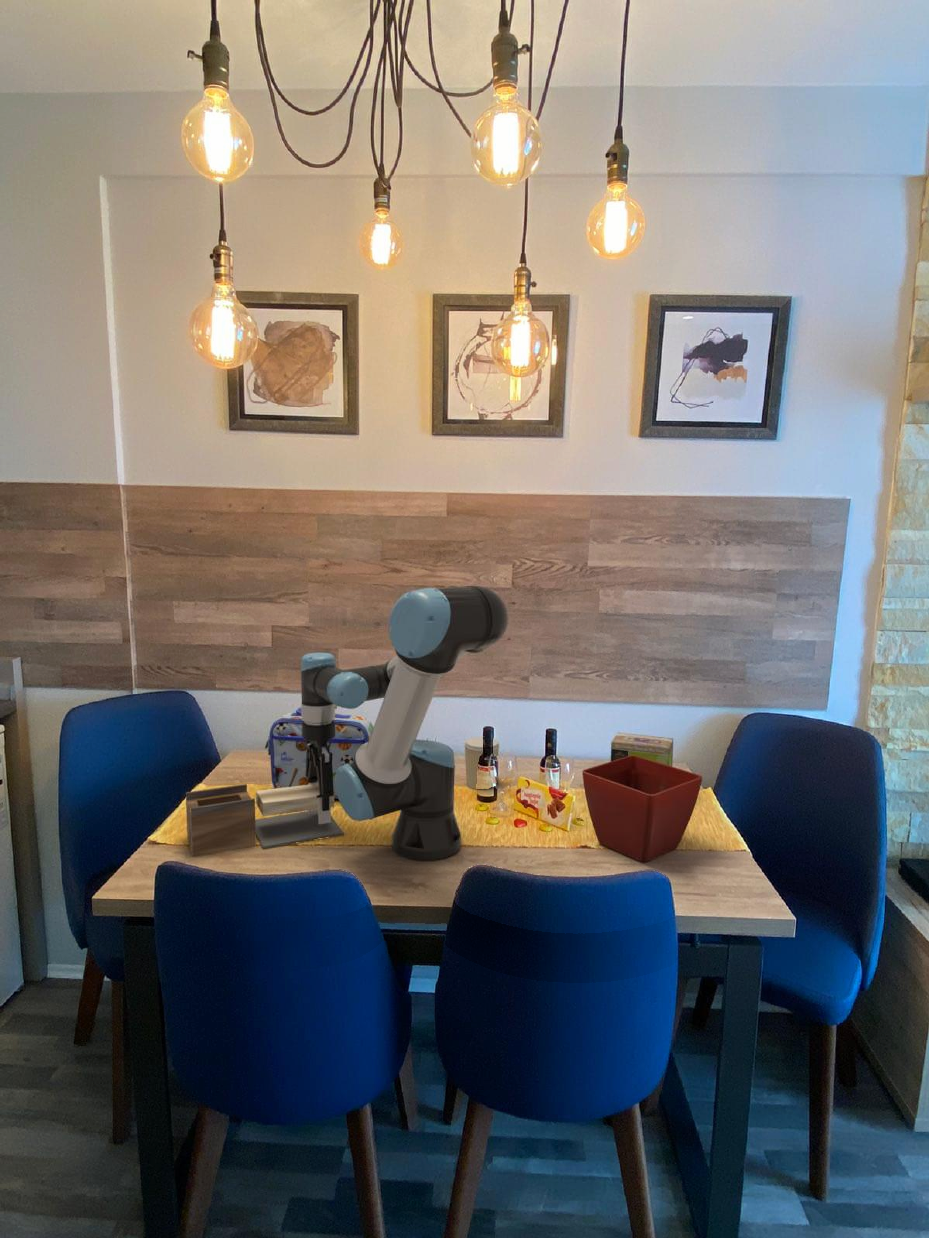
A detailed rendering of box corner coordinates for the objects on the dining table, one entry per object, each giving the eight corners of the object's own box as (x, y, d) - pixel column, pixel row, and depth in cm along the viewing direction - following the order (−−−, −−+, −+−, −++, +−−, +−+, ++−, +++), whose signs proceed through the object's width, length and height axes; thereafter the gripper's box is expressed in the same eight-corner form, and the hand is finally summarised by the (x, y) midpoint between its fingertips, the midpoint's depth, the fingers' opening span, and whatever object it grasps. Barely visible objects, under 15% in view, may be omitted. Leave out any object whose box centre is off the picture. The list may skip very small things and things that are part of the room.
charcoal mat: (343, 834, 170) (343, 832, 170) (262, 849, 163) (262, 846, 162) (325, 810, 184) (325, 808, 184) (249, 822, 176) (249, 820, 176)
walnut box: (255, 845, 164) (254, 799, 163) (192, 856, 159) (191, 808, 157) (247, 827, 173) (246, 783, 172) (187, 837, 167) (185, 792, 166)
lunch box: (261, 797, 191) (259, 713, 188) (275, 783, 201) (274, 703, 198) (368, 804, 188) (368, 718, 185) (377, 789, 199) (377, 707, 195)
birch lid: (334, 806, 172) (334, 794, 172) (263, 816, 165) (263, 803, 165) (324, 794, 179) (325, 782, 179) (256, 803, 172) (256, 790, 172)
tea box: (671, 791, 201) (674, 737, 199) (667, 804, 192) (670, 748, 190) (615, 782, 207) (617, 730, 205) (608, 795, 197) (610, 740, 195)
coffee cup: (504, 782, 205) (505, 740, 203) (487, 793, 197) (488, 749, 195) (474, 776, 209) (475, 734, 208) (457, 786, 201) (457, 743, 200)
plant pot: (629, 820, 181) (633, 753, 179) (699, 848, 167) (704, 775, 165) (576, 842, 169) (579, 770, 167) (647, 874, 155) (652, 796, 152)
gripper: (348, 731, 164) (348, 830, 168) (322, 708, 183) (323, 797, 186) (314, 735, 161) (315, 836, 164) (291, 711, 179) (292, 802, 183)
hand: (319, 815), depth 175 cm, fingers closed on birch lid, 8 cm apart
